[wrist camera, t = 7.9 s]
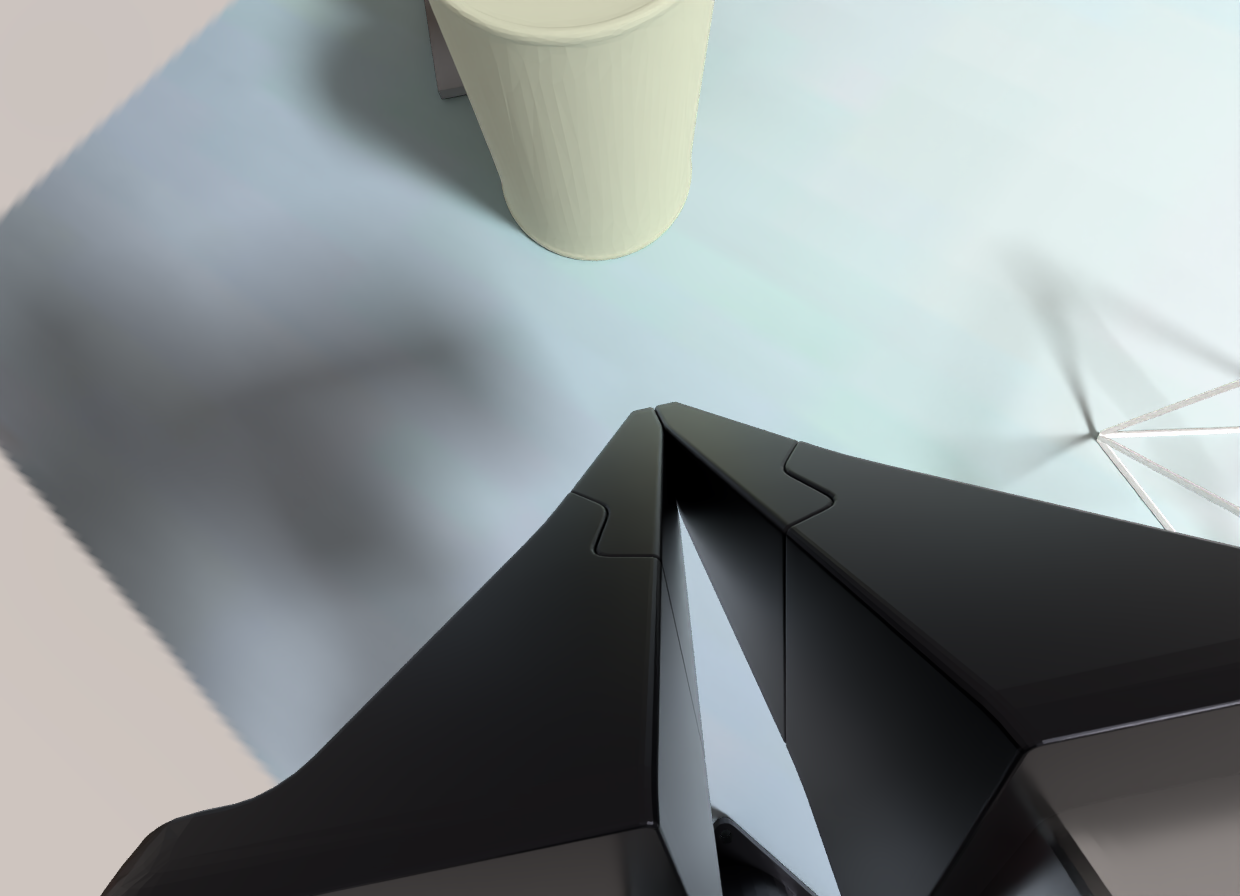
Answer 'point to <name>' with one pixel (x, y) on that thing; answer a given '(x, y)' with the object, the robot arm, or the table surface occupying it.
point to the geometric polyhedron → (1107, 443)
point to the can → (585, 111)
